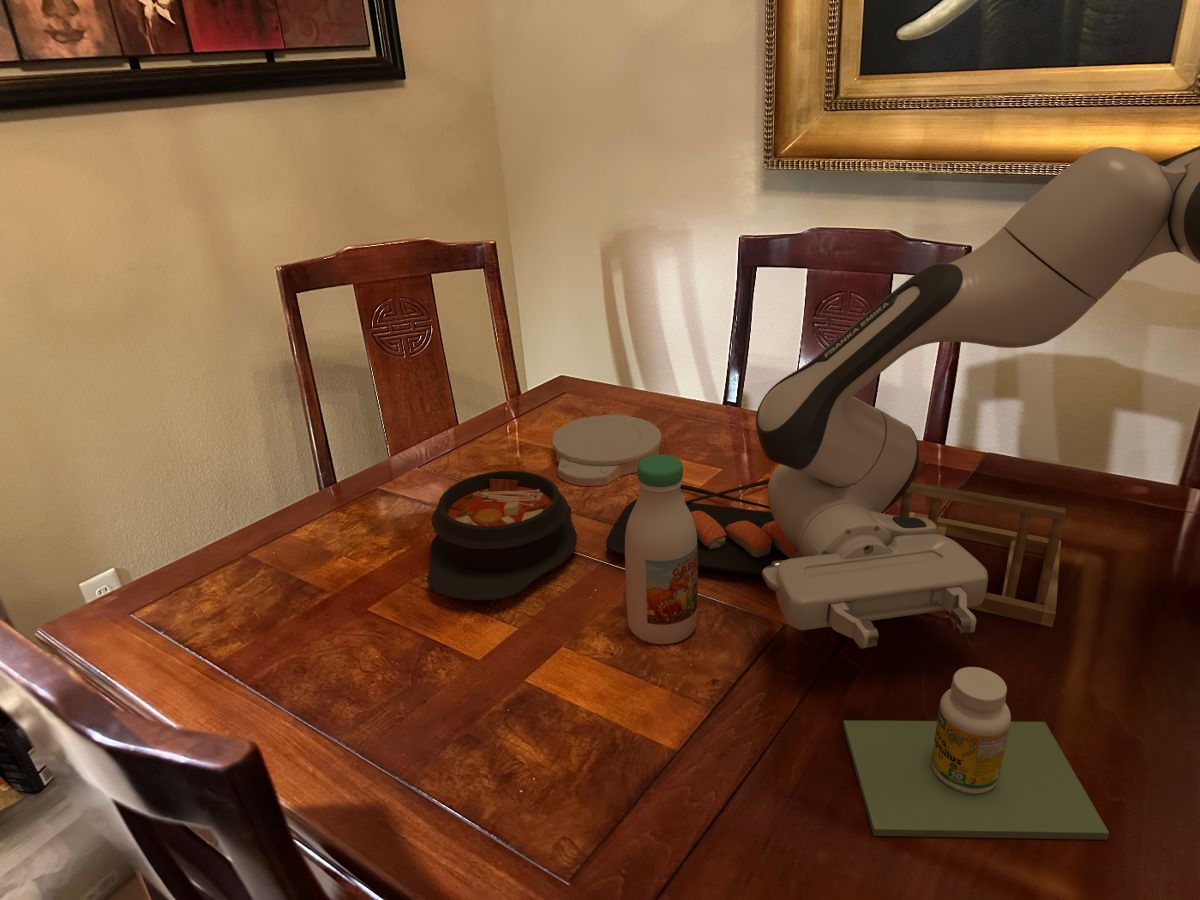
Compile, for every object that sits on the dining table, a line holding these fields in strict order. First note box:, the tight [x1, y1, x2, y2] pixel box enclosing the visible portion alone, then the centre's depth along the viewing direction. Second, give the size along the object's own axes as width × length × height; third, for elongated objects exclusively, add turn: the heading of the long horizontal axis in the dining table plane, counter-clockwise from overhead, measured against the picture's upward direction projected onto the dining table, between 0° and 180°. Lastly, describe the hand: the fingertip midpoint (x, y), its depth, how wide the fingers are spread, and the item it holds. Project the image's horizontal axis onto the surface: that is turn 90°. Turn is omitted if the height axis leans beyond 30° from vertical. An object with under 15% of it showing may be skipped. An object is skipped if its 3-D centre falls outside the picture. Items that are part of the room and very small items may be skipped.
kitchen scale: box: [551, 414, 663, 487], centre depth 131 cm, size 17×20×3 cm
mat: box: [842, 719, 1110, 841], centre depth 72 cm, size 18×12×1 cm, turn 87°
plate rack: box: [899, 481, 1067, 628], centre depth 97 cm, size 16×18×13 cm
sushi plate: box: [605, 478, 801, 578], centre depth 112 cm, size 29×30×4 cm
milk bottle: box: [624, 453, 699, 645], centre depth 89 cm, size 8×8×20 cm
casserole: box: [426, 470, 578, 601], centre depth 105 cm, size 25×19×8 cm
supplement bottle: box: [931, 666, 1012, 794], centre depth 70 cm, size 5×5×10 cm
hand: (919, 634), depth 75 cm, fingers open, 8 cm apart
